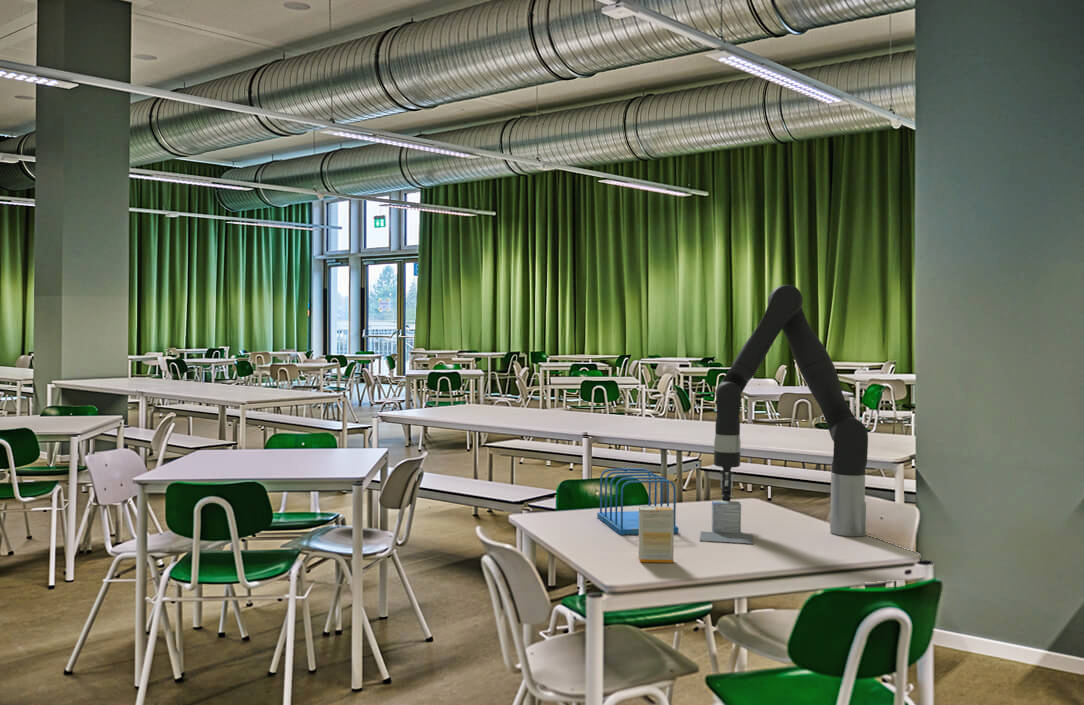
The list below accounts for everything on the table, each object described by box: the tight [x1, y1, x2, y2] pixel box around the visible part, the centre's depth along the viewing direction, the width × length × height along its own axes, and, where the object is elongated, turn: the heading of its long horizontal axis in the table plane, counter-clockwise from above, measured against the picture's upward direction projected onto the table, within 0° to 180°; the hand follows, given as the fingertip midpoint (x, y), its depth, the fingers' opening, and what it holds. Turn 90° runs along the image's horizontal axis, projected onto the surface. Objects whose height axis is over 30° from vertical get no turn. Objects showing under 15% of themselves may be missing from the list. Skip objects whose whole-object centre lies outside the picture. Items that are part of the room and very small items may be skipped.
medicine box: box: [711, 500, 742, 534], centre depth 250 cm, size 8×4×9 cm, turn 84°
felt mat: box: [699, 530, 754, 545], centre depth 242 cm, size 14×12×1 cm
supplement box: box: [638, 505, 675, 564], centre depth 214 cm, size 8×5×13 cm, turn 88°
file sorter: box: [596, 467, 679, 536], centre depth 258 cm, size 25×17×15 cm
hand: (726, 508), depth 256 cm, fingers closed
